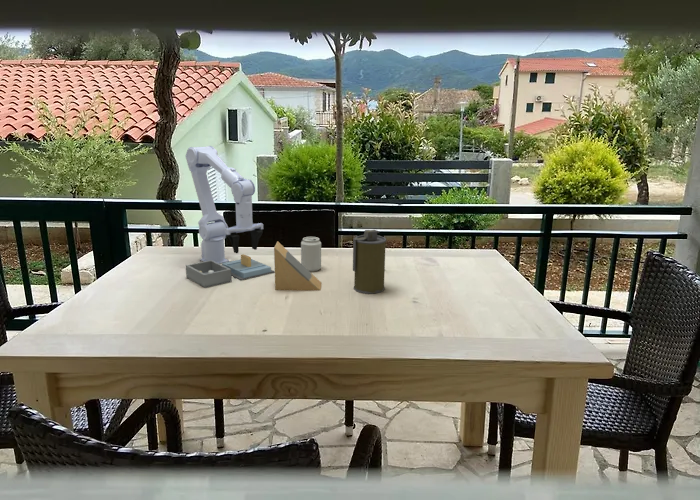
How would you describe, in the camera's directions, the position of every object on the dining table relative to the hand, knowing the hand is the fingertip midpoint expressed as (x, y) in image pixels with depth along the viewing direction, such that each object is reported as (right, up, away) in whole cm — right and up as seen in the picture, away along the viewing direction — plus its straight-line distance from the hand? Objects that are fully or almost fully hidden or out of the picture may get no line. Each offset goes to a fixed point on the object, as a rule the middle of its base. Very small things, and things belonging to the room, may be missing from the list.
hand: (245, 250), depth 188 cm
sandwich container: (+21, -12, -13) cm, 27 cm away
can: (+24, -7, +6) cm, 25 cm away
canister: (+44, -13, -14) cm, 48 cm away
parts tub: (-11, -10, -8) cm, 17 cm away
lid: (0, -7, +2) cm, 7 cm away
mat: (0, -7, +2) cm, 8 cm away
